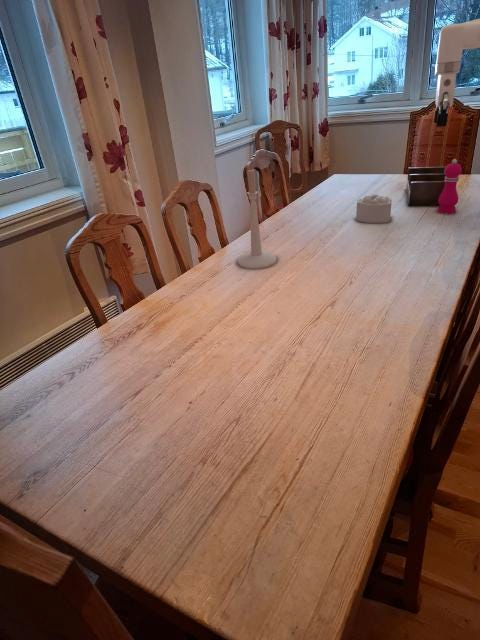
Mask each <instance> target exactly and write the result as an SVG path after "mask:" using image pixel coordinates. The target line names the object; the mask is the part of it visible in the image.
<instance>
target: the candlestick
mask: <svg viewBox="0 0 480 640" xmlns="http://www.w3.org/2000/svg"><path fill="white" fill-rule="evenodd" d="M255 179H256V178H255V169H248V170H247V181H248V182H247V183H248V191H247V192H246V194H247V195H248V200H249V201H250V202H249V213H250V214H249V215H250V217H249V218H250V251H248V252H246V253H244V254H242V255H241V256H240V257H239V258H238V260H237V263H238V265H239V266H240V267H241V268H245V269H250V270H258V269H265V268H268V267H270V266H273V265H274V264H275V263H276V262H277V257H276V255H275V254H273V253H272V252H269V251H266V250H262V248H263V247H262V241H261V234H260V233H261V232H260V224H259V216H258V207H257V201H256V199H257V198H258V193H259V191H257V190H256V180H255Z"/></svg>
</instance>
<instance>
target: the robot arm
mask: <svg viewBox="0 0 480 640" xmlns="http://www.w3.org/2000/svg"><path fill="white" fill-rule="evenodd" d="M479 48H480V18H477V19H473V20H469V21H466V22H462V23H453V24H446V25H443V26H442V27H441V29H440V31H439V39H438V46H437V54H436V62H435V70H434V75H435V76H436V75H437V82H436V89H435V103H434V105H435V111H434V117H433V124H435V126H436V127H437V128H440V127H447V125H448V118H449V107H452V106H453V105H454V99H455V90H456V89H455V88H456V81H457V74H460V71H461V64H462V57H463V52H464V51H463V50H473V49H475V50H476V49H479Z"/></svg>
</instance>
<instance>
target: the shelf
mask: <svg viewBox="0 0 480 640" xmlns="http://www.w3.org/2000/svg"><path fill="white" fill-rule="evenodd" d="M445 168H446V166H424V167H423V166H422V167H421V166H419V167H418V166H417V167H408V169H407V180H406V189H405V190H406V197H407V206H408V207H439V206H440V204H439V203H438V199H439V197H440V195H441V193H442V192H443V190H444V188H445V176H446V175H445V173H444V170H445Z"/></svg>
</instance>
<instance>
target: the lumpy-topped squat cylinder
mask: <svg viewBox="0 0 480 640" xmlns="http://www.w3.org/2000/svg"><path fill="white" fill-rule="evenodd" d="M355 213H356V214H355V220H356V221H358V222H361V223H365V224H385V223H389V222H391V213H392V198H391V197H388V196H386V195H381V196H380V195H379V194H377V193H375V194H372V195H365V196H364V197H362V198H360V199H358V200H357V202H356V211H355Z"/></svg>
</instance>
